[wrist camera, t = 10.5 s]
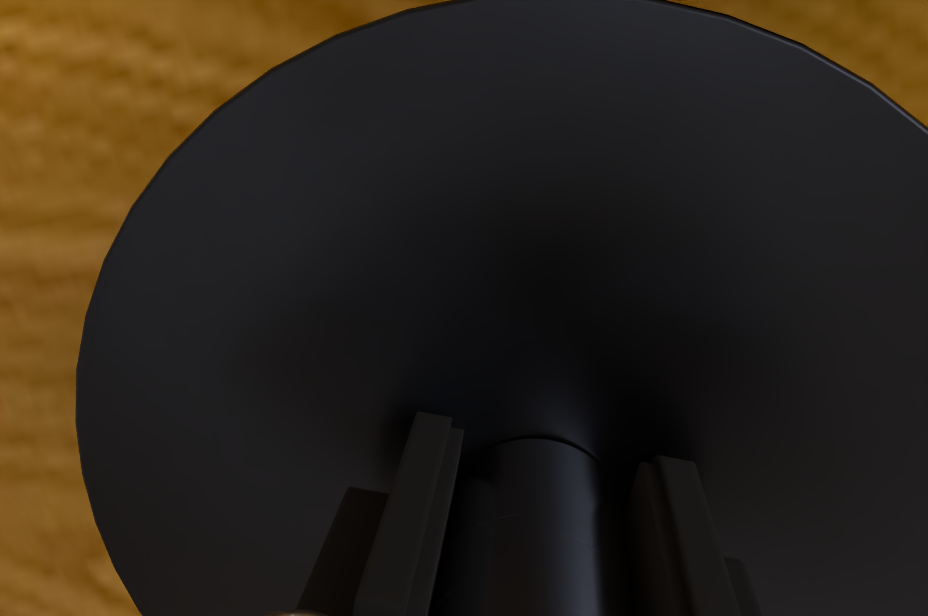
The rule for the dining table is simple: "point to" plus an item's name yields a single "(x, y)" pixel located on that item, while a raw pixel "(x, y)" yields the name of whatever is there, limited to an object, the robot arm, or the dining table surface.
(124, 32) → the dining table surface
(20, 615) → the dining table surface
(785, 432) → the pot lid
